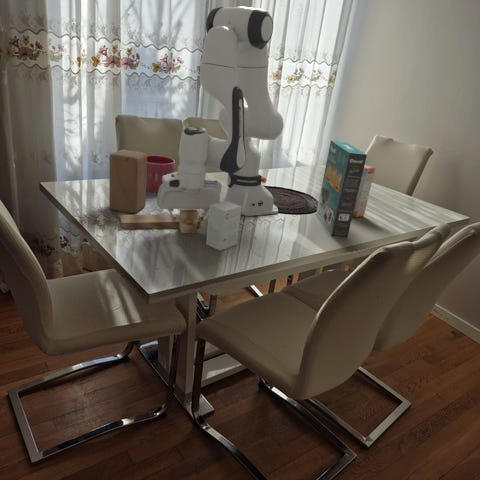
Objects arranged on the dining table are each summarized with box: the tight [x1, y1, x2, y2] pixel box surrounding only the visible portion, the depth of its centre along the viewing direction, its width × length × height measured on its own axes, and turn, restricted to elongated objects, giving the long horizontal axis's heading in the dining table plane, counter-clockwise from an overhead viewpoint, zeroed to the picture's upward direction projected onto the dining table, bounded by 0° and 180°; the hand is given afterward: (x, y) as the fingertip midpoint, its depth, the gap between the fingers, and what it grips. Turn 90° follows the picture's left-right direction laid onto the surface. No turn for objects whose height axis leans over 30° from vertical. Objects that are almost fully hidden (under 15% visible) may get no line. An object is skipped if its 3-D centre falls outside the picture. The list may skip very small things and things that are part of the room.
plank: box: [119, 213, 202, 230], centre depth 143 cm, size 26×7×2 cm, turn 109°
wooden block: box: [109, 149, 148, 215], centre depth 149 cm, size 10×10×20 cm
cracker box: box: [352, 164, 376, 218], centre depth 177 cm, size 14×6×21 cm, turn 38°
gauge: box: [178, 209, 199, 234], centre depth 141 cm, size 5×9×7 cm, turn 19°
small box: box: [205, 200, 242, 252], centre depth 131 cm, size 8×6×13 cm
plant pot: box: [146, 154, 176, 193], centre depth 175 cm, size 14×14×13 cm
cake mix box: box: [315, 140, 368, 239], centre depth 156 cm, size 22×6×30 cm, turn 5°
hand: (187, 220), depth 139 cm, fingers open, 8 cm apart
